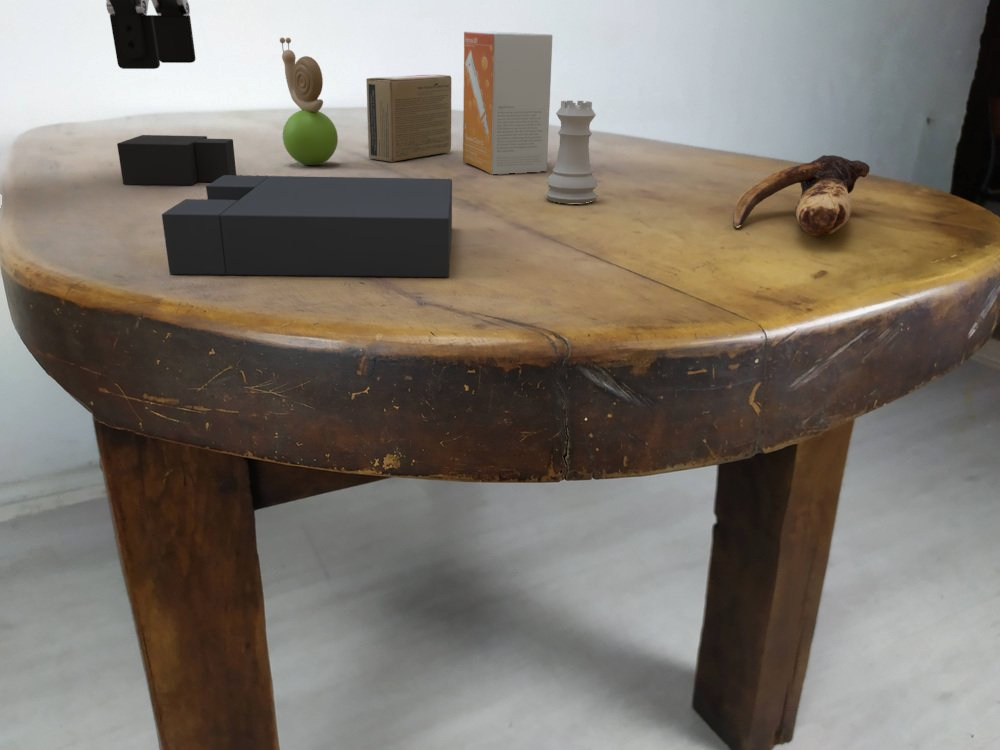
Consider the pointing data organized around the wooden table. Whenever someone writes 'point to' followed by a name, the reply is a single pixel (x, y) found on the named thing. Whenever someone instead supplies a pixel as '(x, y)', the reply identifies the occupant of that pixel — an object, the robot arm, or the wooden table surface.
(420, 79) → the ink box
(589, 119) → the rook chess piece
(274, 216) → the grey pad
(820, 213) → the lashed bone hook
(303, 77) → the snail figurine
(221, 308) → the wooden table surface
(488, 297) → the wooden table surface
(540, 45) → the small box
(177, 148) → the black stepped block
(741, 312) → the wooden table surface
